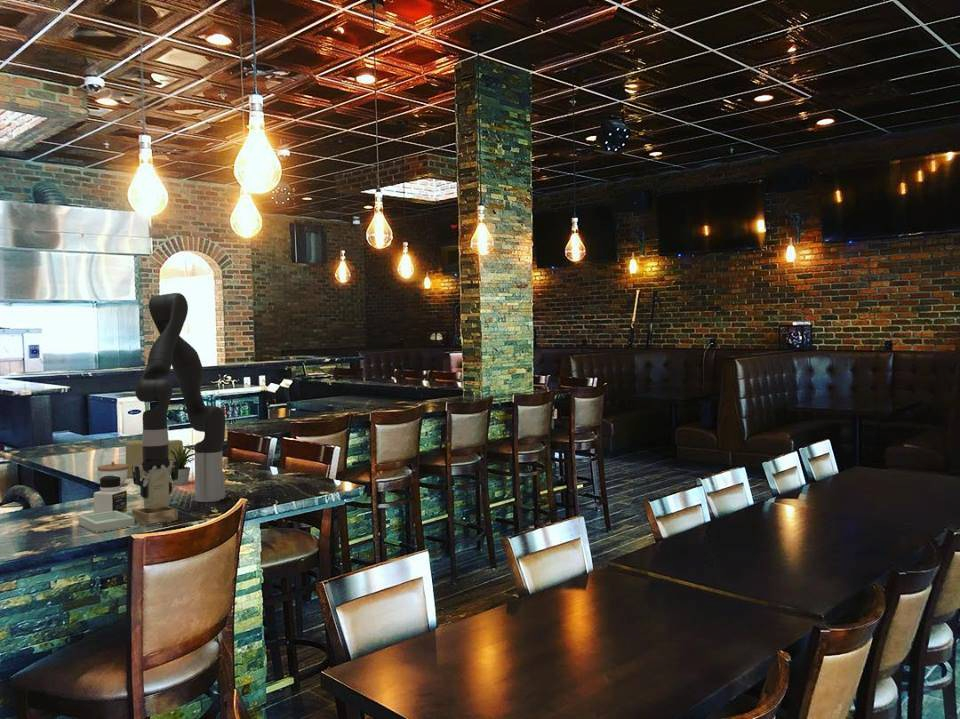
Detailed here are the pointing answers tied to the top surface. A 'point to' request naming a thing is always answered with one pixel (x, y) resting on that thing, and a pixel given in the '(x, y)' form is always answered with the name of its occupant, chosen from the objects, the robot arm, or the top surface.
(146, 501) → the skincare box
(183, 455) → the house plant
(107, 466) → the lidded jar
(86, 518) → the tray
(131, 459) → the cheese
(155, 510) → the wooden square box
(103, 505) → the medicine bottle
